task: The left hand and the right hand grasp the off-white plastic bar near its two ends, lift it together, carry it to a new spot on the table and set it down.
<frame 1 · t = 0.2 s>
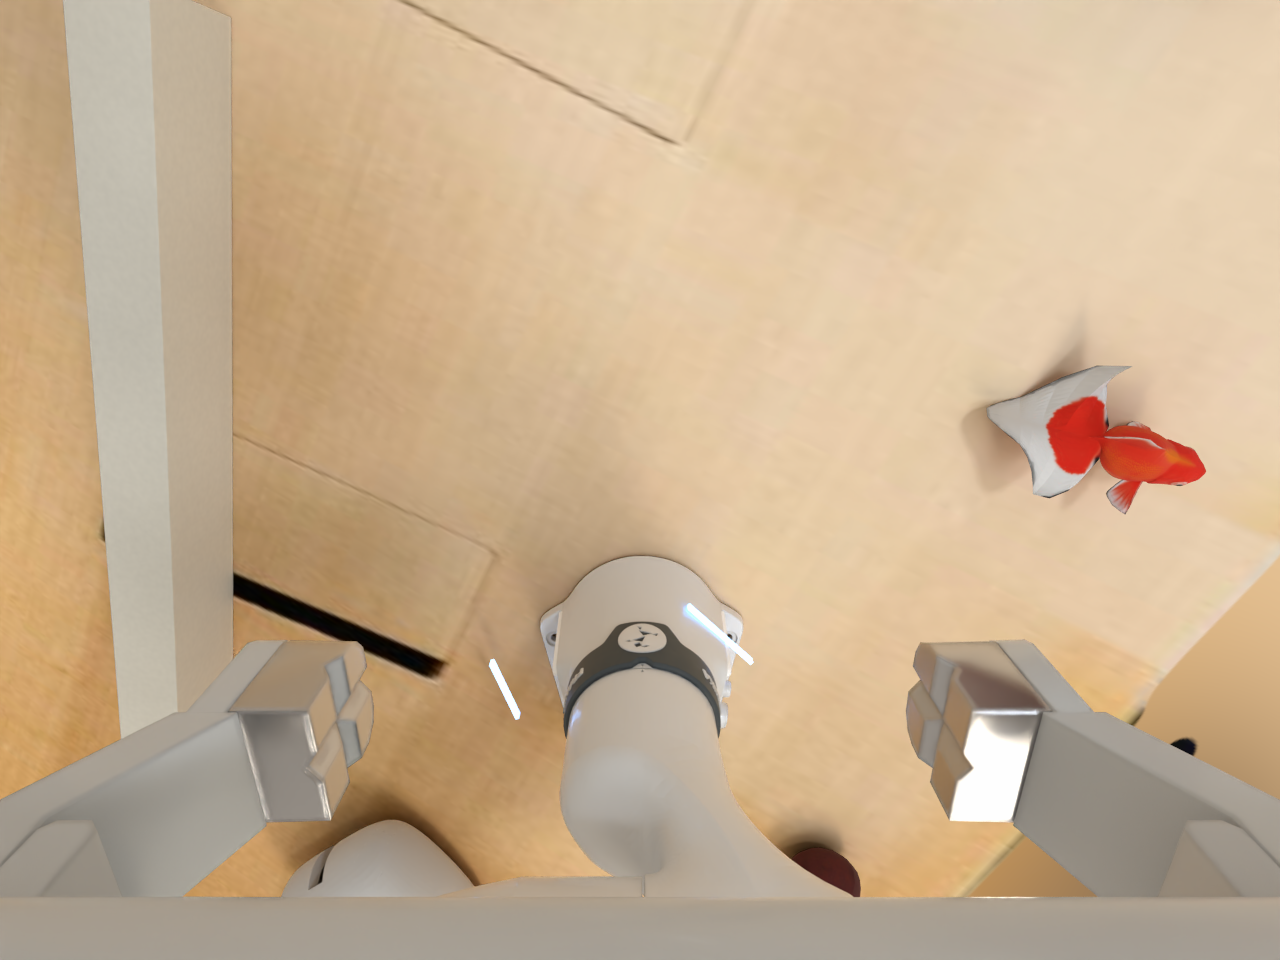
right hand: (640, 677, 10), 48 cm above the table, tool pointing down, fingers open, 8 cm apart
projector: (417, 881, 79), on the table
fish: (1061, 428, 59), on the table
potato: (814, 855, 77), on the table
bar: (203, 417, 59), on the table
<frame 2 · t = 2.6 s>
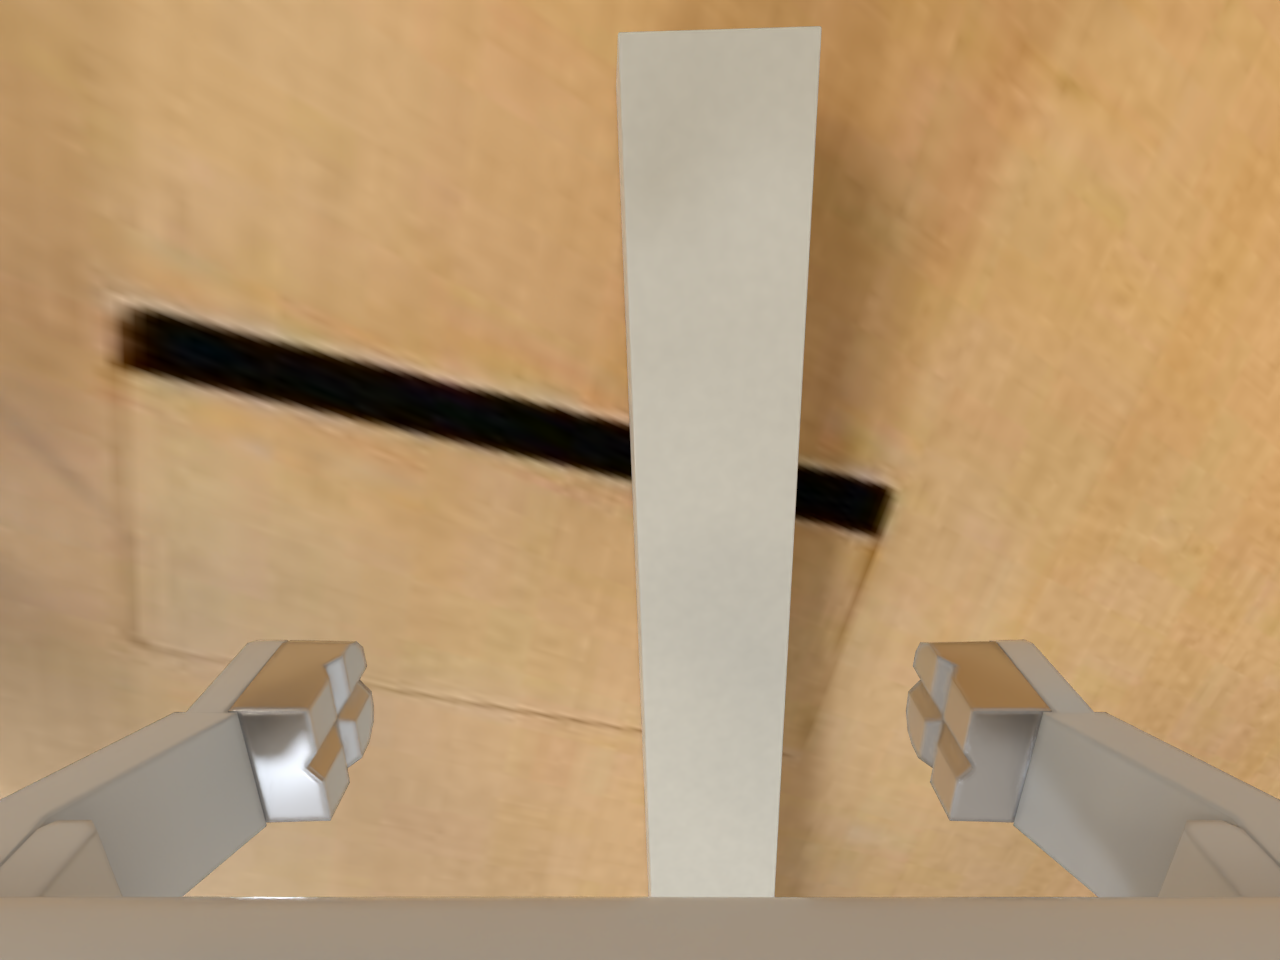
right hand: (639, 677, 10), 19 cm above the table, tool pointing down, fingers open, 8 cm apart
bar: (690, 745, 36), on the table
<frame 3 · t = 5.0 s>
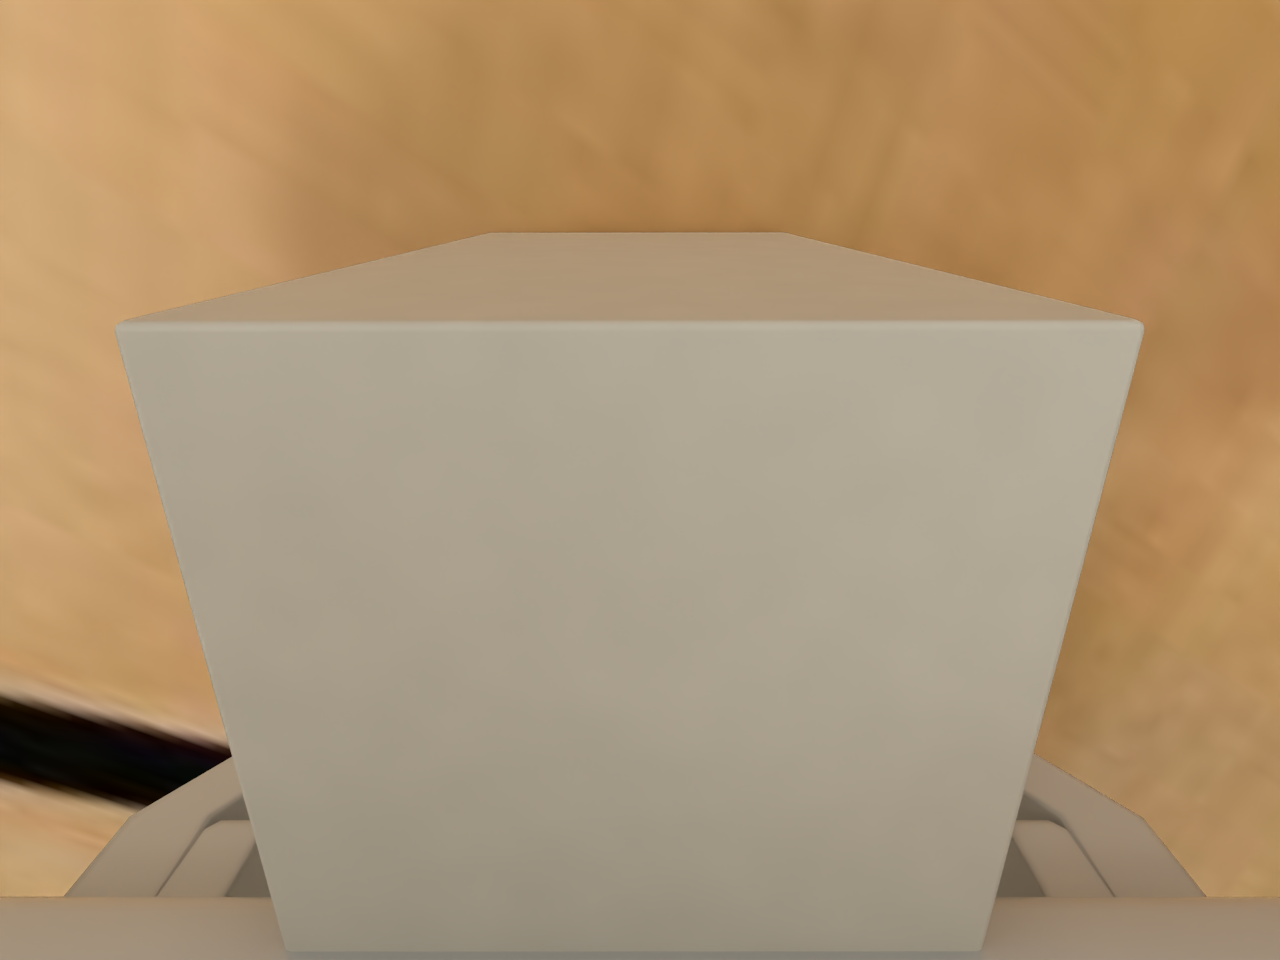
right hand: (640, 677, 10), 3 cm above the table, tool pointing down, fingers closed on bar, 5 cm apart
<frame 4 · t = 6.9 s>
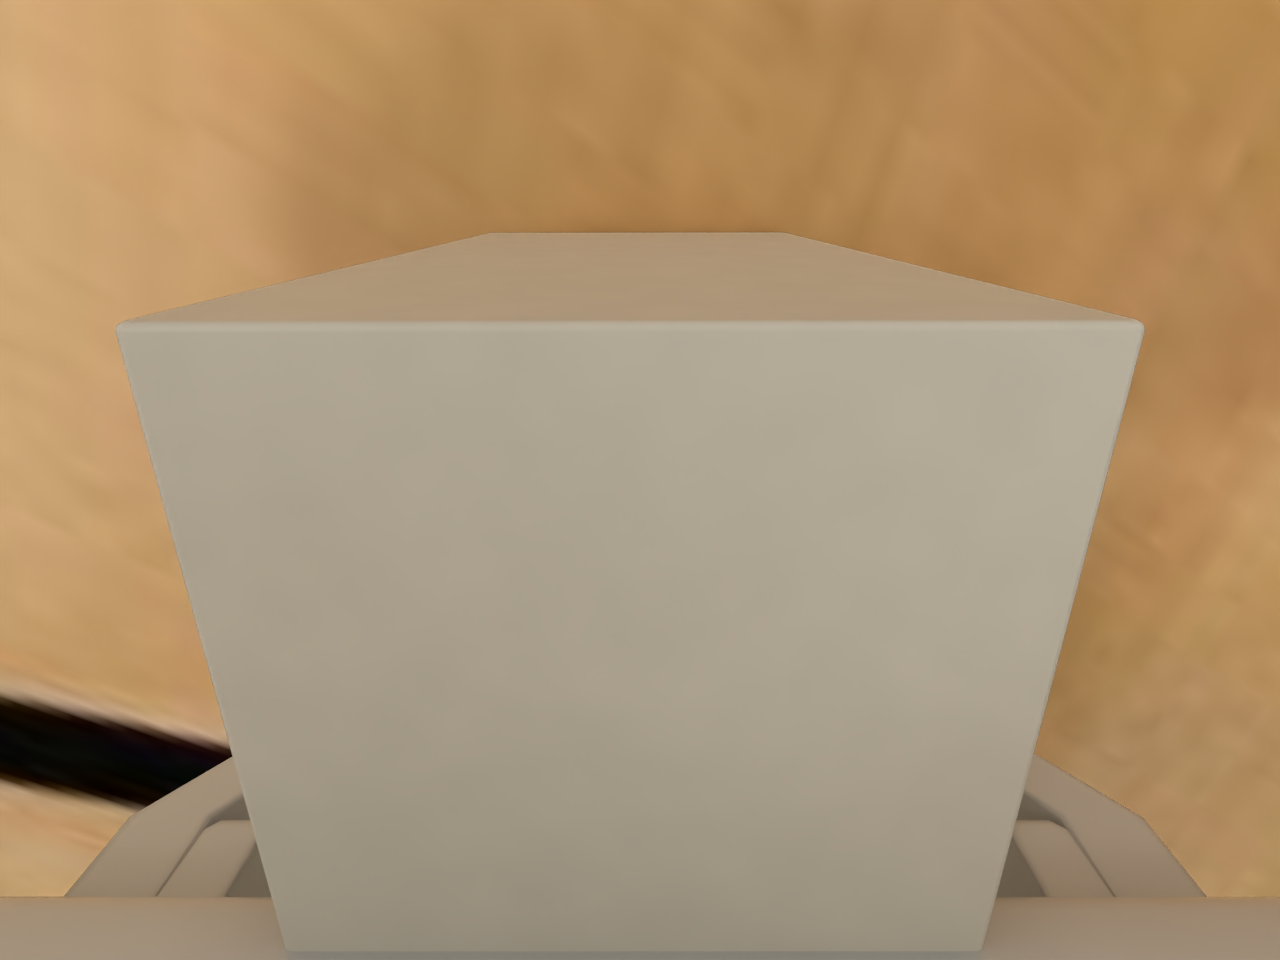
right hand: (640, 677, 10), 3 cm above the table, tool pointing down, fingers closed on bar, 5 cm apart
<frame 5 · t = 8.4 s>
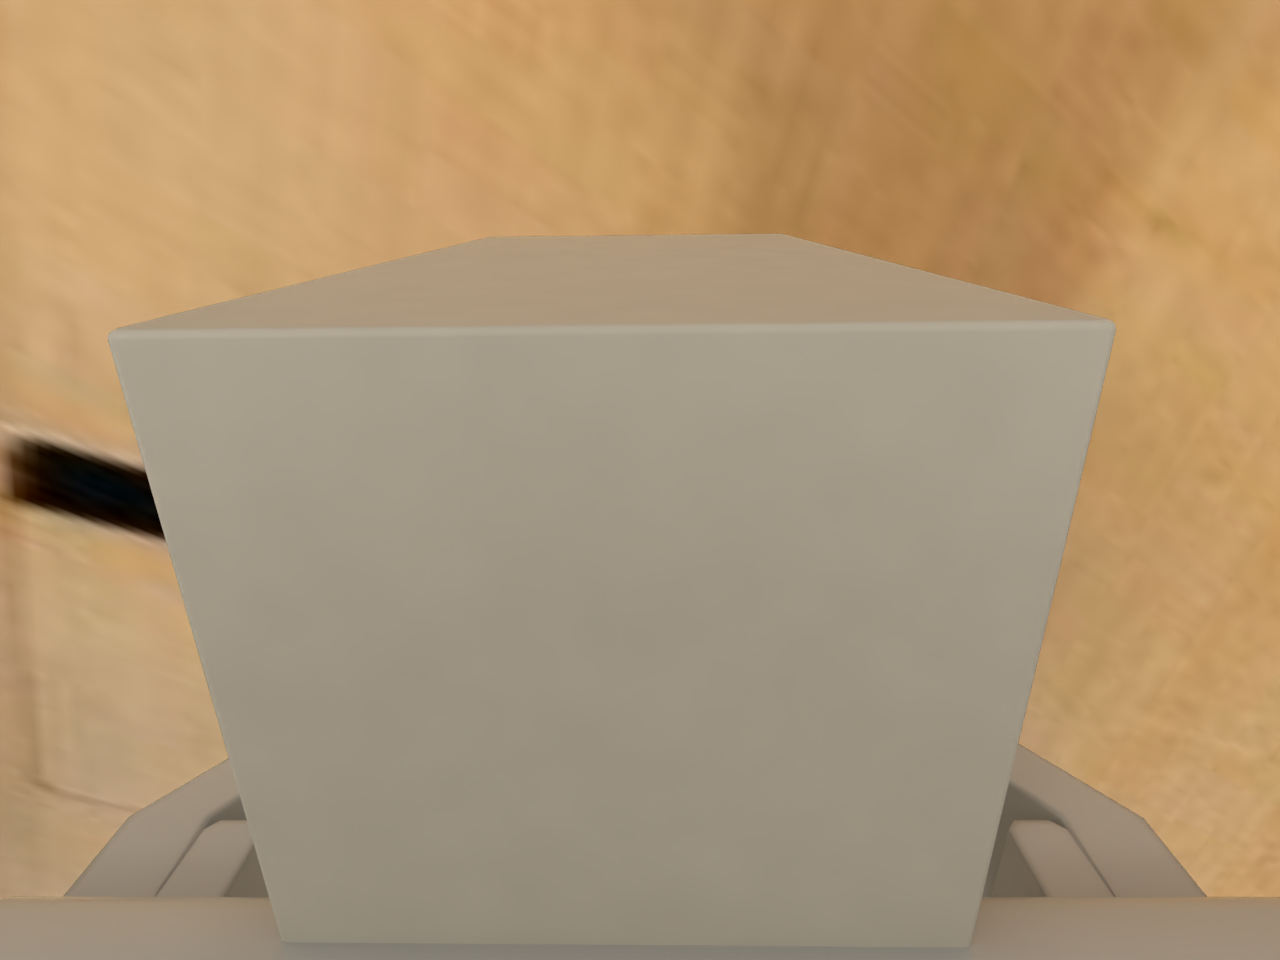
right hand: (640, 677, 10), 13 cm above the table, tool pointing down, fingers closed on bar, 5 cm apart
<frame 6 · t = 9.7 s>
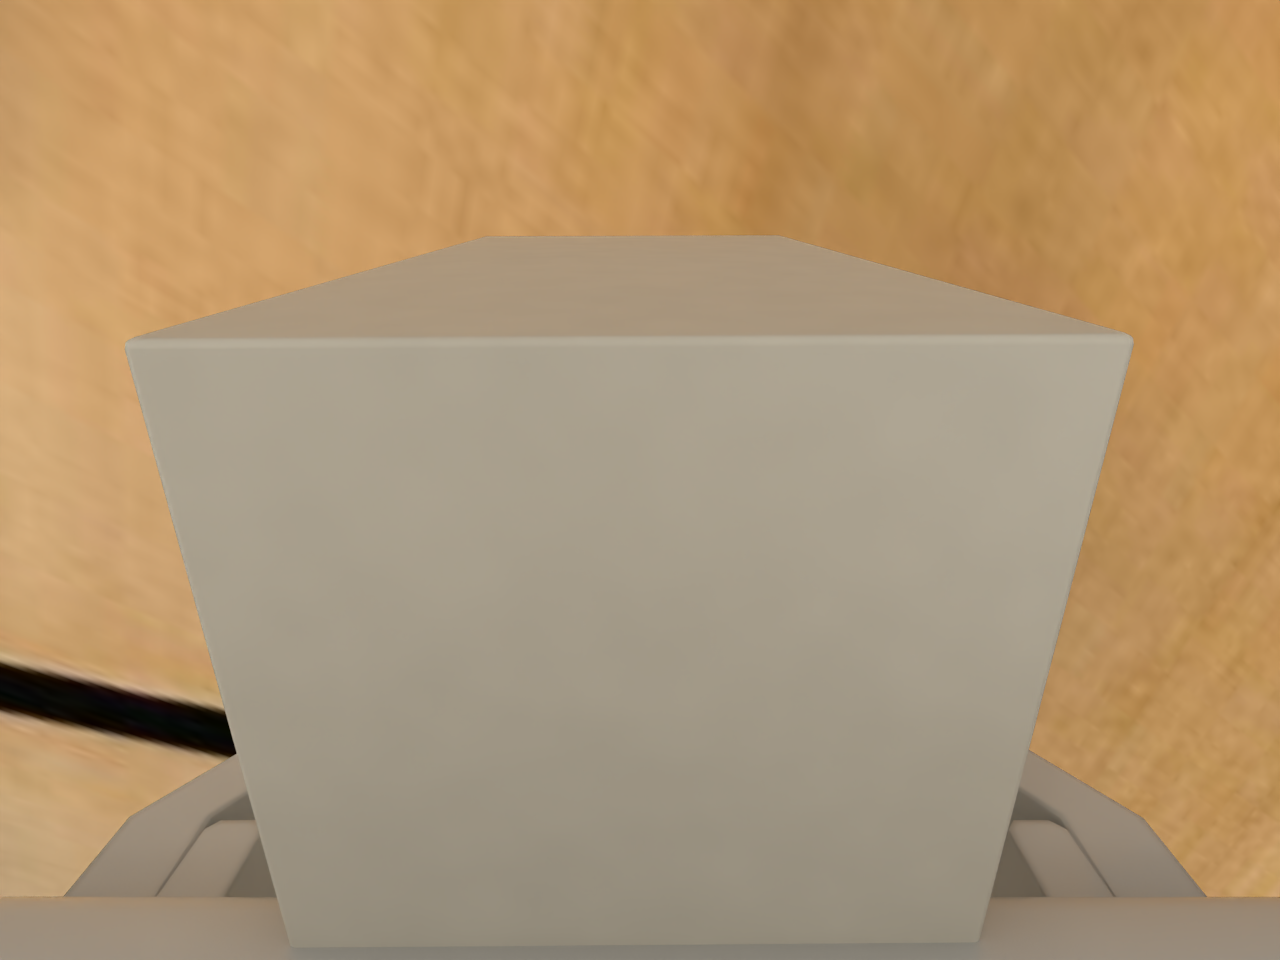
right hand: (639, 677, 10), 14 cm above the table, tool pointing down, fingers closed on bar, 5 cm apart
when the left hand's fingers open (4 cm above the table, at t = 12.4 s): bar stays where it is, on the table.
when the right hand's fingers open (4 cm above the table, at t = 12.4 s): bar stays where it is, on the table.
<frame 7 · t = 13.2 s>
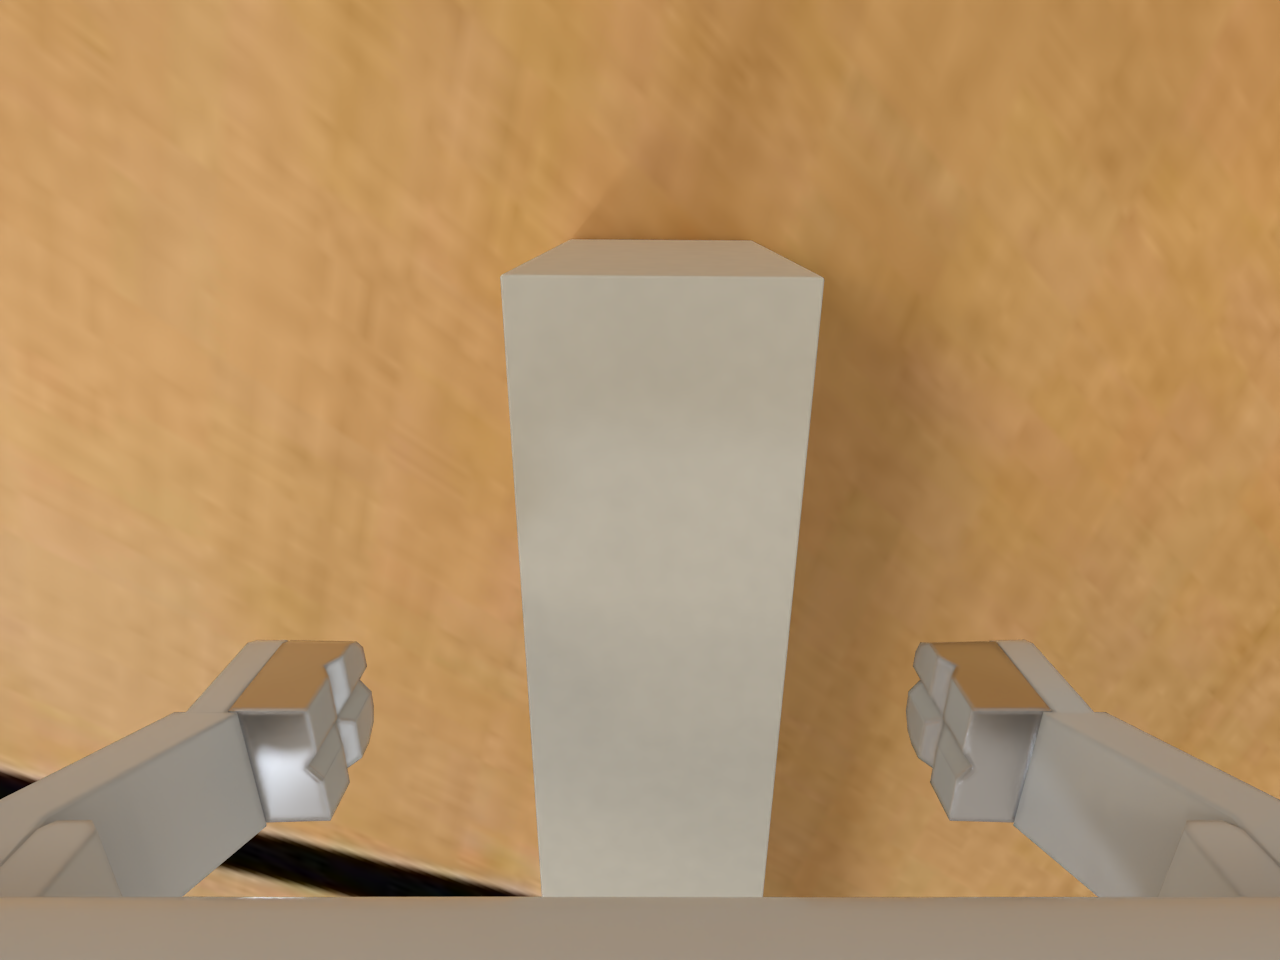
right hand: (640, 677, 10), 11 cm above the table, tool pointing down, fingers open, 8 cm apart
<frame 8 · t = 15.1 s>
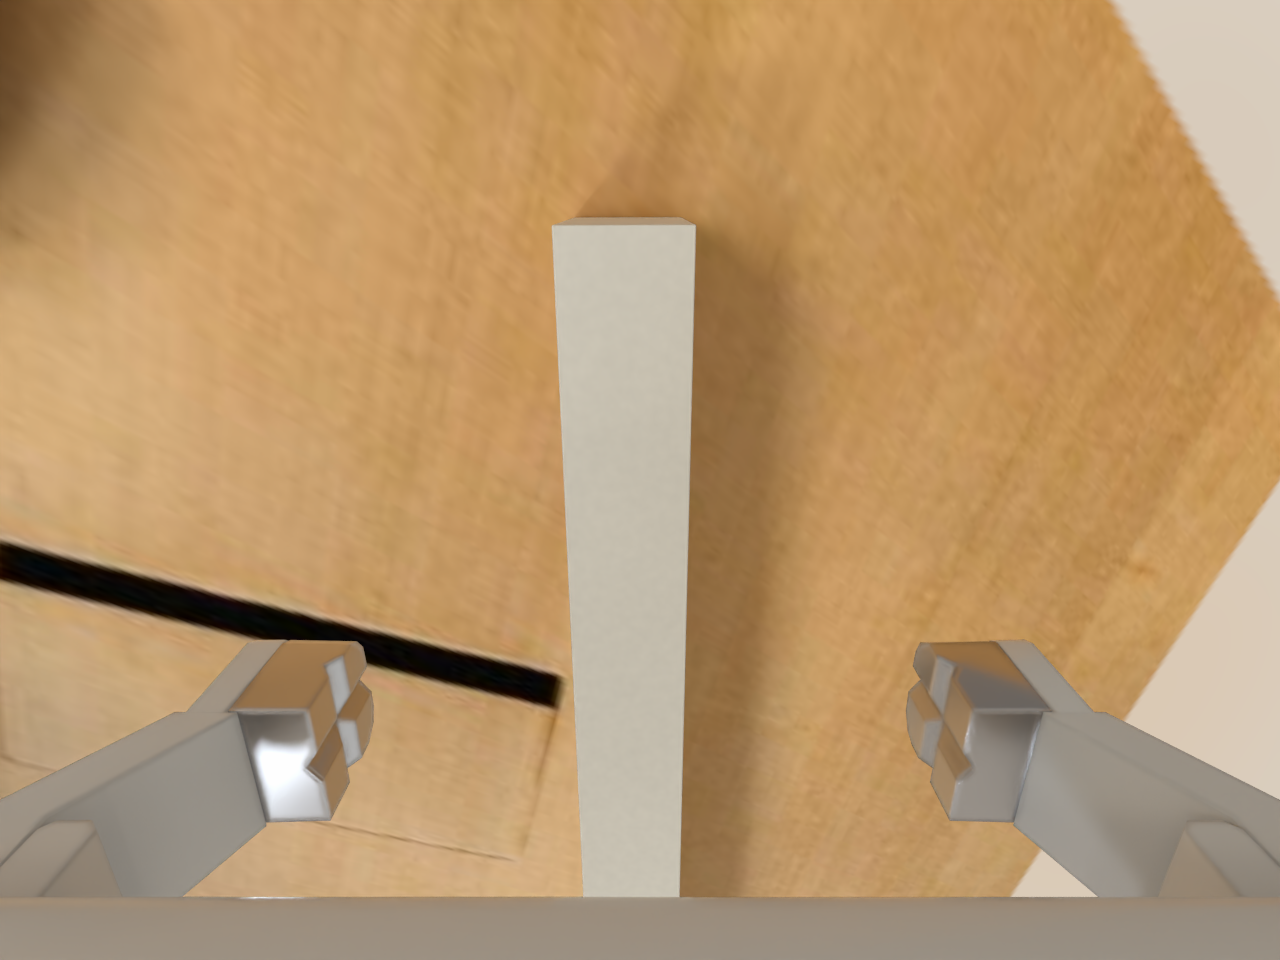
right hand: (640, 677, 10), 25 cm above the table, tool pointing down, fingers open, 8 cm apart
bar: (632, 737, 43), on the table
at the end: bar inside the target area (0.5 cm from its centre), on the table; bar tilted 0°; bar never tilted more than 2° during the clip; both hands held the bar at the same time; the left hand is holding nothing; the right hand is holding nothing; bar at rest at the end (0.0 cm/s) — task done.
